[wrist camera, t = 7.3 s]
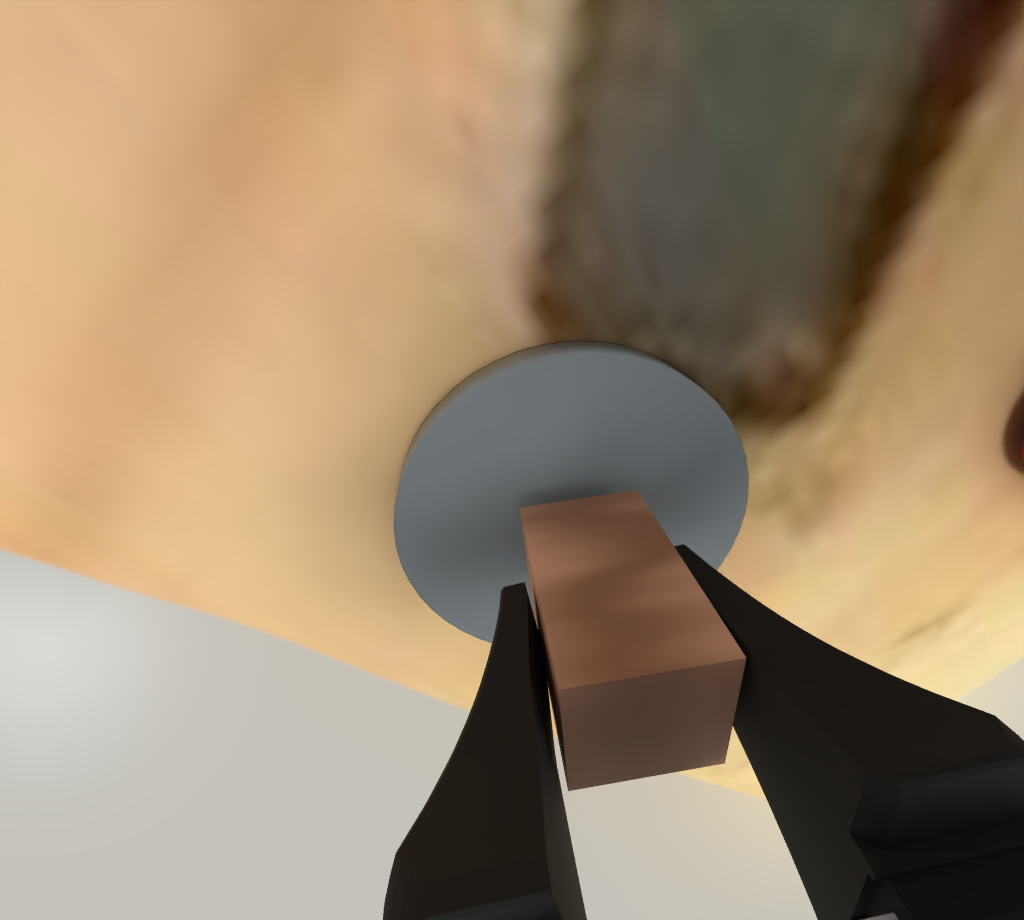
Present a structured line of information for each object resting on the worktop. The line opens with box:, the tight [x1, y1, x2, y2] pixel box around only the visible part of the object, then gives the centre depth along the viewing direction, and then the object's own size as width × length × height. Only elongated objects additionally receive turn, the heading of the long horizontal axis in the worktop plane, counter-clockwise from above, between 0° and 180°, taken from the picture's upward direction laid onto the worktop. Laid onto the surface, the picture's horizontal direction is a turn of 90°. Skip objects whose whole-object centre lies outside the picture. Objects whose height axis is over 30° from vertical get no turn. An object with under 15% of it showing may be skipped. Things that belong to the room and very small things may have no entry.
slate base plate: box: [394, 341, 748, 643], centre depth 16 cm, size 12×12×2 cm
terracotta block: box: [520, 490, 746, 791], centre depth 12 cm, size 4×4×6 cm
